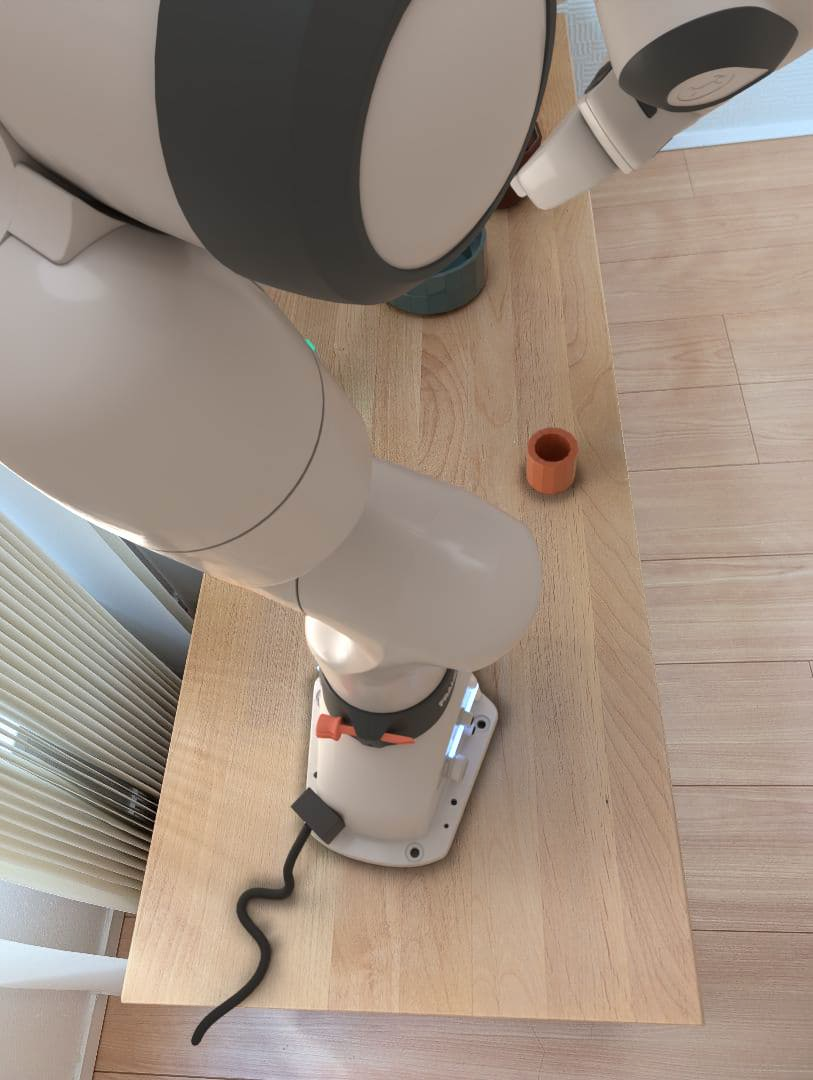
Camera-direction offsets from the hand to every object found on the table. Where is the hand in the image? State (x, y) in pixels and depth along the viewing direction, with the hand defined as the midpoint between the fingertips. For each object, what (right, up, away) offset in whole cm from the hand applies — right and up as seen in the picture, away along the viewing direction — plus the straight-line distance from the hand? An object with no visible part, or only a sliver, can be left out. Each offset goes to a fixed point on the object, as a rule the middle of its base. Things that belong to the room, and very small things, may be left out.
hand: (544, 154), depth 70 cm
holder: (+4, -27, +20) cm, 34 cm away
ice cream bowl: (+2, +16, +46) cm, 49 cm away
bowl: (-9, +2, +39) cm, 40 cm away
